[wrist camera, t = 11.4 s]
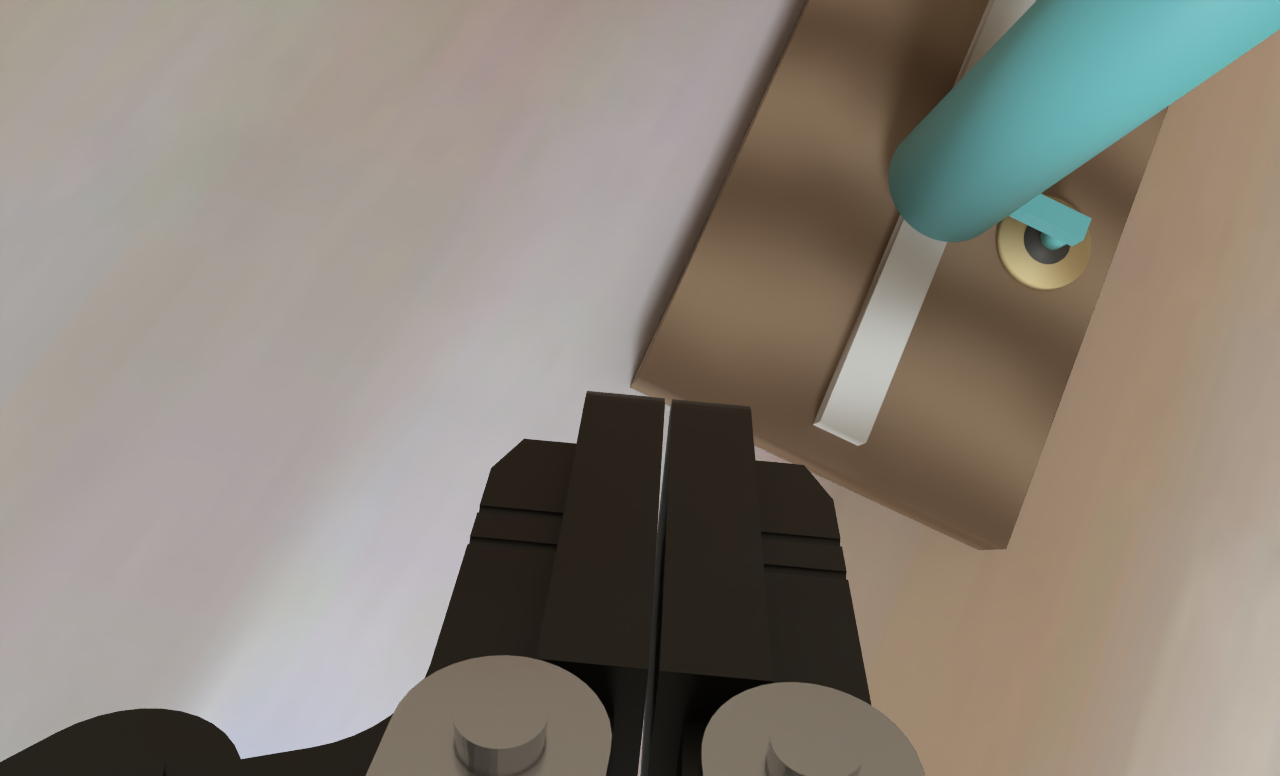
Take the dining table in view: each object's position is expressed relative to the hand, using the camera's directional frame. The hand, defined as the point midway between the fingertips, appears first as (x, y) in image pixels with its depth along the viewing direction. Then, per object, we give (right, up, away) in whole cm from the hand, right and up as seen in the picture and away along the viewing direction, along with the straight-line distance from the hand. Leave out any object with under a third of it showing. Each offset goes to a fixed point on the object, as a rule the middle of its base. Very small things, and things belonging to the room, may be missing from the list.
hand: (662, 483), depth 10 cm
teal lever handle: (+11, +7, +26) cm, 29 cm away
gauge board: (+11, +10, +29) cm, 32 cm away
